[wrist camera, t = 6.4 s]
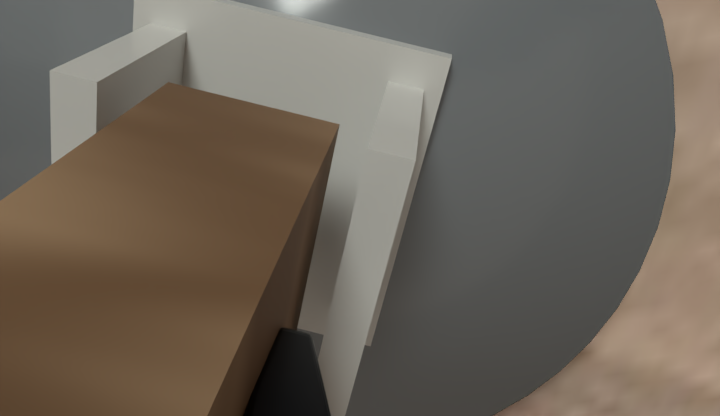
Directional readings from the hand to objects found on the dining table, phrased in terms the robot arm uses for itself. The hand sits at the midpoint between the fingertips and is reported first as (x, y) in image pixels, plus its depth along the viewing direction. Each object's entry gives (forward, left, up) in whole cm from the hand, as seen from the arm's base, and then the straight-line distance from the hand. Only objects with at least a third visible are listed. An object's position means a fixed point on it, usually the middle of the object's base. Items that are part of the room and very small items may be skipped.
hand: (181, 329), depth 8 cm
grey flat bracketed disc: (0, 0, -6) cm, 6 cm away
